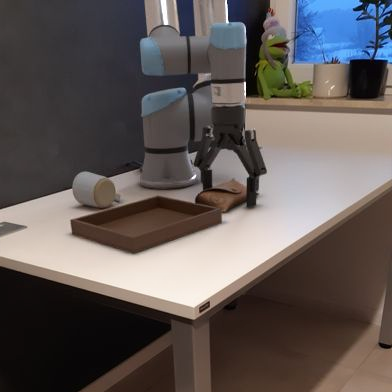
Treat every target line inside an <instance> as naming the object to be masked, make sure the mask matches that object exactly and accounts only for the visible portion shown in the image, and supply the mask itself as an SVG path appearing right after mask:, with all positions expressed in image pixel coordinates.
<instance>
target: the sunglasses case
mask: <svg viewBox="0 0 392 392" xmlns="http://www.w3.org/2000/svg"><path fill="white" fill-rule="evenodd" d="M246 194H247V185H246V184H243V183H241V182H239V181H238V180H236V178H235V177H233V178H232V179H230V180H228V181H225V182H223V183H220V184H217V185H215V186H212V188H210V189H206V190H203V189H202V190H201V191H199V193H197V195H196V196H195V198H194V203H197V204H202V205H207V206H212V207H217V208H221V209H222V213H223V212H224V213H225V212H227V211H229V210H231V209H232V208H234V207H236V206H239V205H241V204H243V203H246ZM258 195H260V193H259V192H258V191H257V192H256V197H257V196H258Z"/></svg>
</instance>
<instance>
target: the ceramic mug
mask: <svg viewBox="0 0 392 392" xmlns="http://www.w3.org/2000/svg"><path fill="white" fill-rule="evenodd" d="M71 190H72V195H73V198H74V199H75V201H76V202H77V203H78V204H80V205H83V206H89V207H95V208H98V209H104V208H108V207H109V206H111V205H112V204H113V202H114V201H116V202H120V200H121V194H120V193H116V186H115V183H114V182H113V180H111V179H110V178H108V177H106V176H104V175H99V174H96V173H93V172H89V171H82V172H79V173H78V174H77V175H75V177H74V179H73V182H72V189H71Z"/></svg>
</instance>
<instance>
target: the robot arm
mask: <svg viewBox="0 0 392 392" xmlns="http://www.w3.org/2000/svg"><path fill="white" fill-rule="evenodd" d="M192 3H193V18H194V19H193V21H194V30H195V31H194V34H195V35H192V36H191V35H190V36H187V35H186V36H185V35H182V36H181V32H180V23H179V14H178V13H179V12H178V3H177V0H144V10H145V11H144V12H145V23H146V33H147V37H144V38H141V39H140V41H139V49H140V61H141V70H142V73H143V74H144V75H146V76H157V77H163V76H177V75H178V76H179V75H197V81H196V82H195V83H194V85H193V86H192V93H187V90H186V88H185V87H177V88H168V89H164V90H159V91H155V92H151V93H148V94H146V95H144V96H143V97H142V99H141V114H140V116H141V118H142V128H143V142H144V143H143V145H144V159H143V163H142V162H139V161H137V160H135V159H134V160H133V159H132V160H133V161H132V163H126V162H125V164H124V166H125V167H128V166H129V165H130V164H132V165H133V164H135V165H137V166H139V169H138V170H139V172H141V174H140V185H141V186H142V187H144V188H148V189H154V190H171V189H181V188H186V187H190V186H192V185H194V184H196V183H197V174H196V172H195V170H194V168H198V169H199V171H200V184H201V185H202V191H203V190H206V189H210V188H212V187H213V169H211V168H212V167H211V166H212V164H213V163H214V161H215V159H216V158H217V156H218V155H219V153H220V152H221V151H222V150H227V151H233V153H234V154H236V155H237V157H238V159H239V160H240V162H241V164H242V166H243V167H244V169H245V171H246V173H247V174H248V177H246V186H247V194H246V202H245V203H246V204H245V206H246V208H251V207H254V206H257V196H256V192H257V193H258V192H259V190H260V177H261V176H263V175H267V173H268V169H267V167H266V164H265V160H264V158H263V155H262V152H261V149H260V146H259V144H258V140H257V131H256V129H255V128H251V129H247V130H245V128H244V124H245V123H246V106H245V102H246V101H247V100H246V96H247V95H246V94H247V93H246V88H247V87H246V60H247V59H246V58H247V56H246V55H247V41H248V40H247V35H246V32H247V31H246V25H245V24H244V23H243V22H241V21H235V22H234V21H233V22H231V21H229V20H228V4H227V0H192ZM189 142H193V143H194V142H199V144H198V148H197V151H196V154H195V158H194V161H193V160H192V159H191V157H190V155H189ZM193 167H194V168H193Z"/></svg>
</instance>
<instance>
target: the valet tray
mask: <svg viewBox="0 0 392 392" xmlns="http://www.w3.org/2000/svg"><path fill="white" fill-rule="evenodd" d="M69 222H70V228H71V235H74V236H77V237H80V238H84V239H86V240H90V241H94V242H97V243H100V244H103V245H105V246H109V247H113V248H116V249H118V250H121V251H125V252H128V253H131V254H137V253H139V252H142V251H145V250H149V249H151V248H154V247H157V246H159V245H163V244H165V243H168V242H171V241H174V240H177V239H179V238H183V237H185V236H187V235H191V234H194V233H196V232H199V231H202V230H205V229H208V228H210V227H214V226H216V225H219V224H221V223H222V222H223V212H222V209H221V208H217V207H212V206H207V205H202V204H197V203H195V202H192V201H188V200H183V199H182V200H181V199H179V198H173V197H167V196H163V195H154V196H151V197H147V198H144V199H140V200H136V201H133V202H129V203H126V204H122V205H118V206H115V207H111V208H107V209H104V210H100V211H97V212H93V213H89V214H86V215H82V216H78V217H75V218H71V219H69Z"/></svg>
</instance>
